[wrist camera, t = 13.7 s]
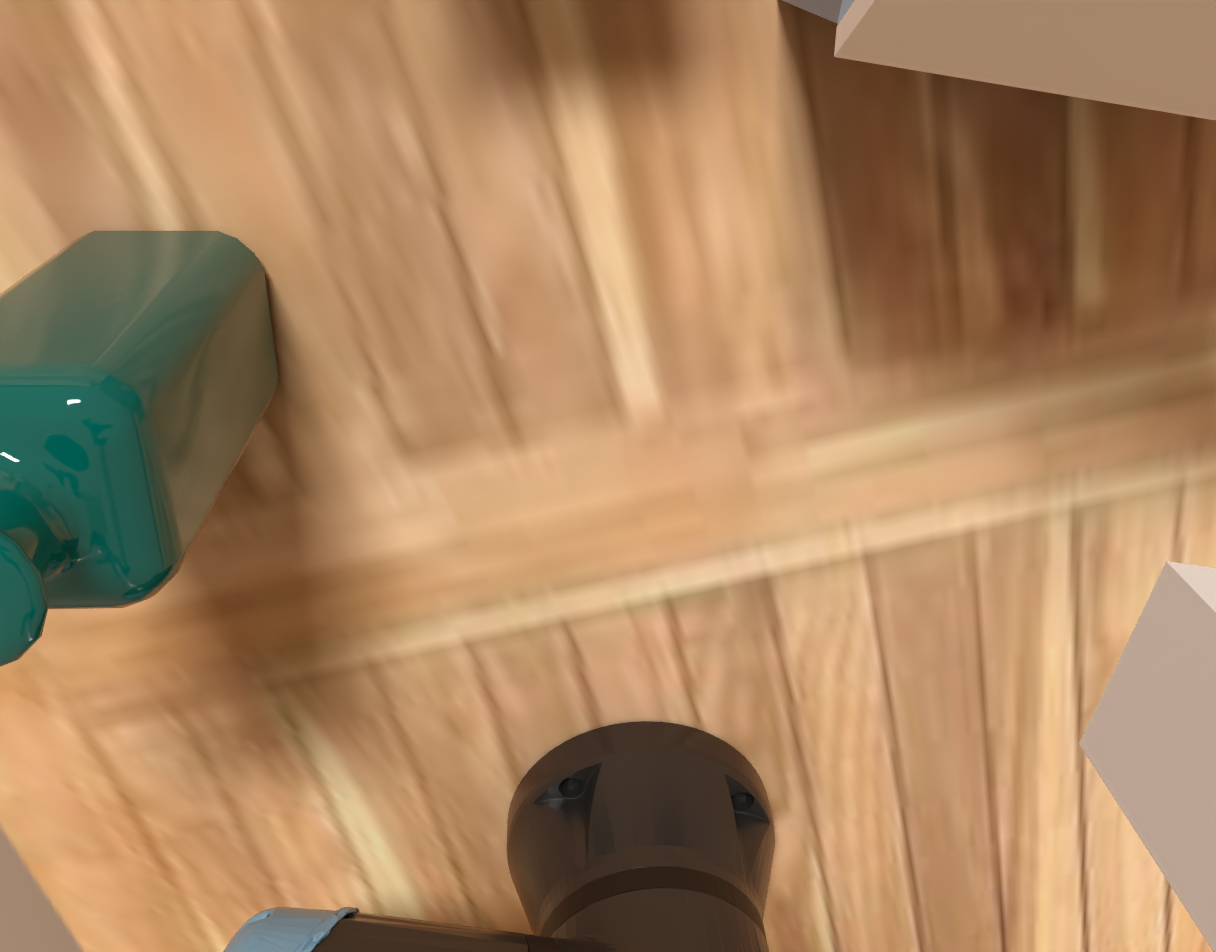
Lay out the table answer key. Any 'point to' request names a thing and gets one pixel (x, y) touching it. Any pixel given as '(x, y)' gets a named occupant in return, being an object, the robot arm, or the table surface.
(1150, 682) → the robot arm
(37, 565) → the pitcher
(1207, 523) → the table surface
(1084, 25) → the lid
